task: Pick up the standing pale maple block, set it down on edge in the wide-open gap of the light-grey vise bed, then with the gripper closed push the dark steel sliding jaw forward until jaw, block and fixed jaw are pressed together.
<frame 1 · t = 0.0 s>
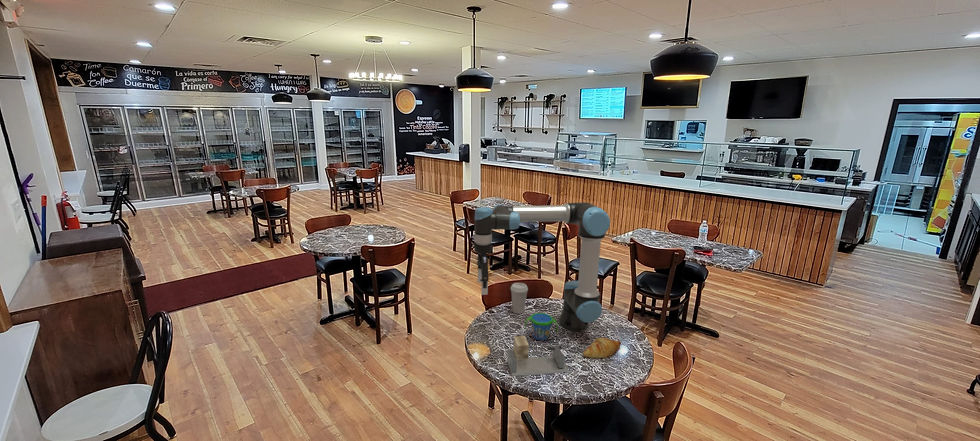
hand: (482, 288, 182), 28 cm above the table, fingers open, 13 cm apart
fixed jaw: (511, 368, 170), resting on vise bed
sliding jaw: (557, 355, 173), point 4 cm above the table, slide at 0.0 cm
croissant: (601, 352, 184), on the table
coffee cup: (518, 311, 222), on the table
vise bed: (537, 367, 172), on the table
block: (520, 354, 181), on the table
snack cup: (540, 337, 196), on the table
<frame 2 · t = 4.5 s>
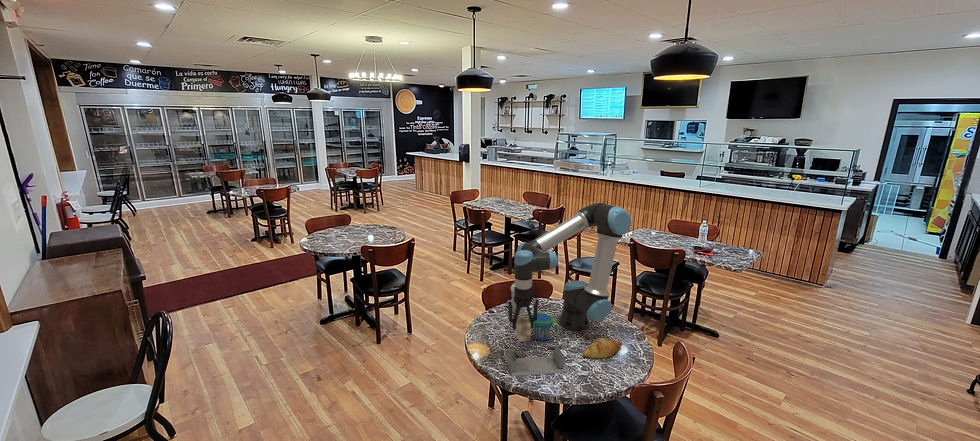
hand: (522, 335, 179), 9 cm above the table, fingers closed on block, 5 cm apart
block: (522, 336, 179), point 9 cm above the table, touching gripper
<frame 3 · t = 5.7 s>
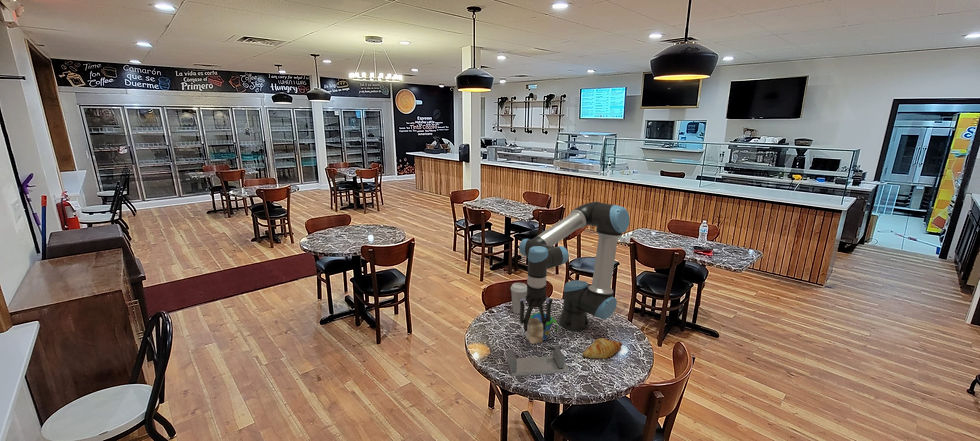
hand: (534, 337, 168), 14 cm above the table, fingers closed on block, 5 cm apart
block: (533, 338, 168), point 14 cm above the table, touching gripper
everything else where it was.
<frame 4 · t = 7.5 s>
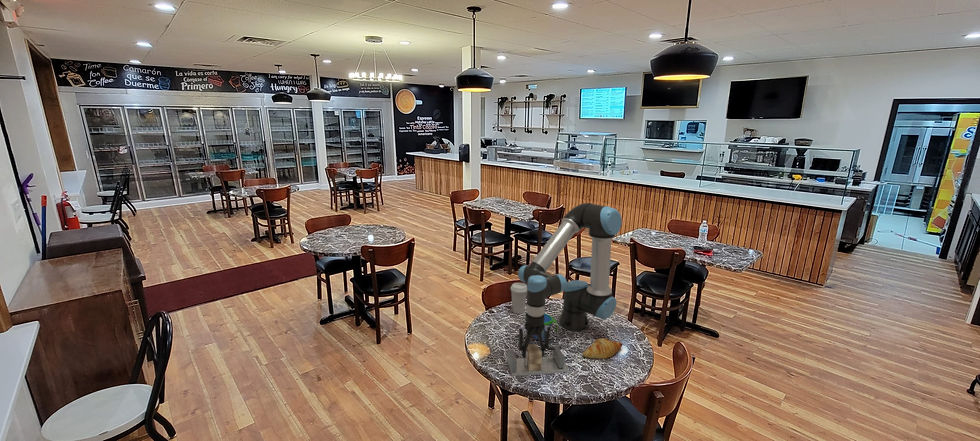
hand: (532, 363, 171), 2 cm above the table, fingers closed on block, 5 cm apart
block: (532, 364, 171), point 1 cm above the table, touching gripper, vise bed
everything else where it was.
when the fingers open (2 cm above the table, at t = 7.5 s): block stays where it is, resting on vise bed.
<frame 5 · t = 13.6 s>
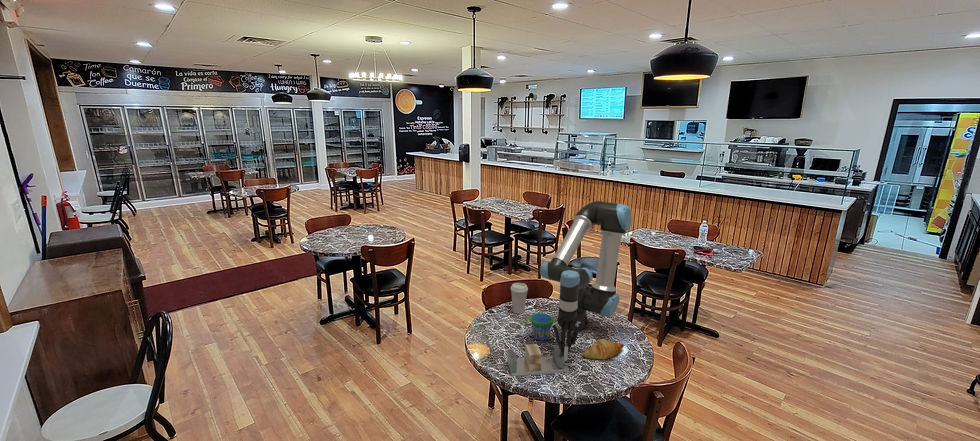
hand: (564, 359, 173), 3 cm above the table, fingers closed
sliding jaw: (557, 355, 173), point 4 cm above the table, slide at 0.2 cm, touching gripper
block: (532, 364, 171), point 1 cm above the table, touching vise bed
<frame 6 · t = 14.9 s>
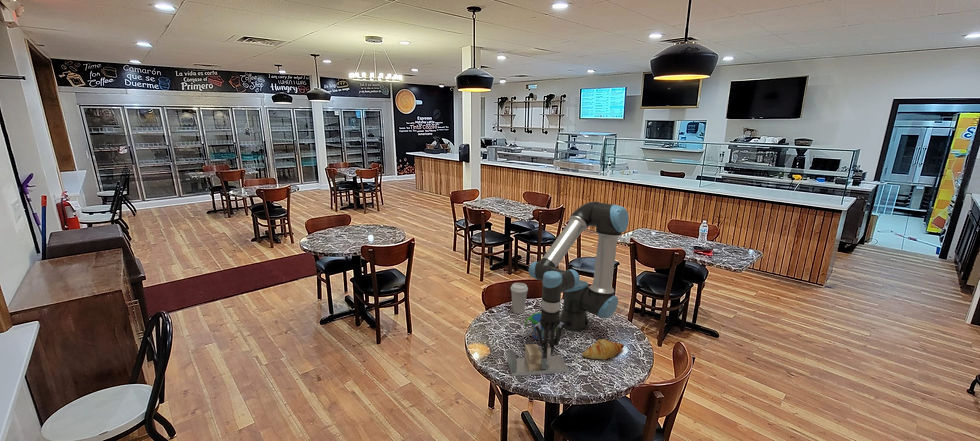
hand: (547, 360, 172), 3 cm above the table, fingers closed
sliding jaw: (540, 356, 172), point 4 cm above the table, slide at 7.6 cm, touching block, gripper
block: (532, 364, 171), point 1 cm above the table, touching sliding jaw, vise bed
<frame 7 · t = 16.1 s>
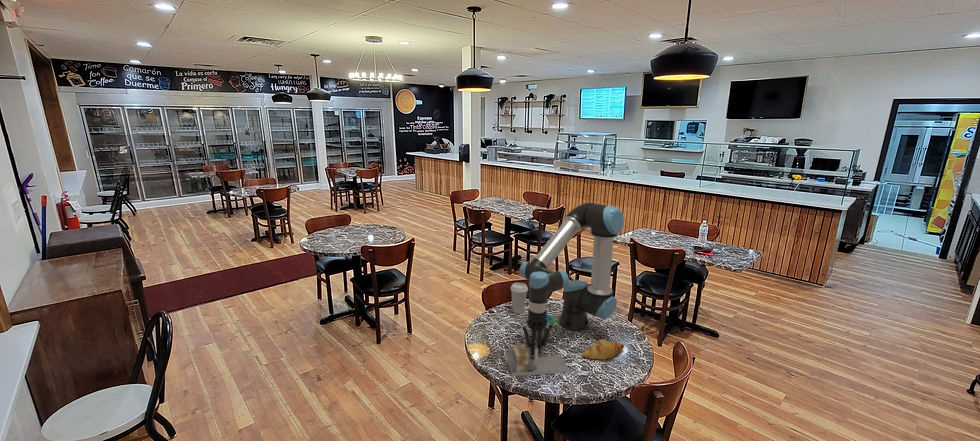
hand: (535, 361, 171), 3 cm above the table, fingers closed
sliding jaw: (528, 357, 171), point 4 cm above the table, slide at 12.9 cm, touching block, gripper
block: (520, 365, 170), point 2 cm above the table, touching sliding jaw
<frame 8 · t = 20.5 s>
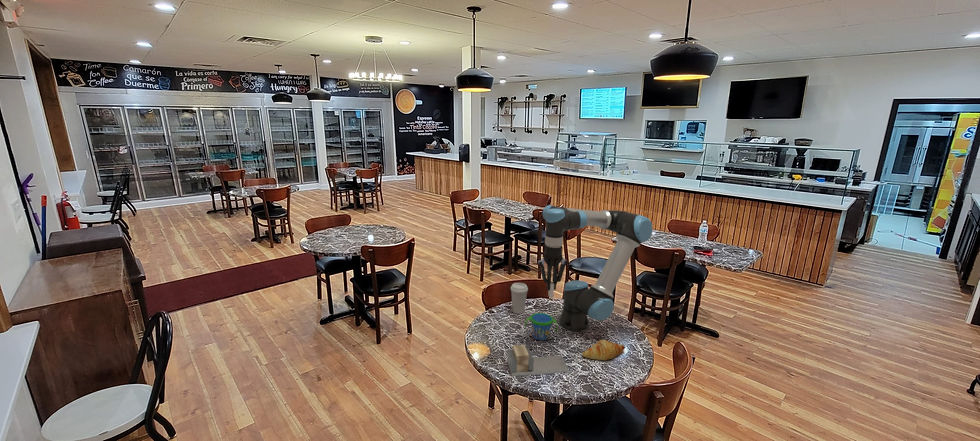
hand: (550, 296, 178), 26 cm above the table, fingers closed
sliding jaw: (527, 357, 171), point 4 cm above the table, slide at 13.0 cm, touching block
block: (520, 365, 170), point 1 cm above the table, touching fixed jaw, sliding jaw, vise bed
at the end: block 0.1 cm from the target spot, point 1.5 cm above the table; block tilted 0°; sliding jaw slide at 13.0 cm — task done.
